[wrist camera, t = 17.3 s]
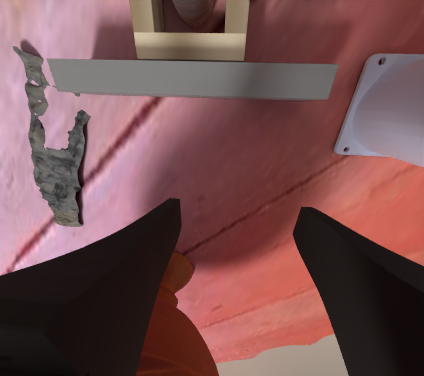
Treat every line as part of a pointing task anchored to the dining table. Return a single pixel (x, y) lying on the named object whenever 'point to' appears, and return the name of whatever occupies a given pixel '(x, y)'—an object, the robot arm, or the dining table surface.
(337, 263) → the robot arm
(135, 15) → the socket block
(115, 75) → the backstop wall
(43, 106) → the driftwood
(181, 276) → the goblet
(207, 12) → the dowel
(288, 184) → the dining table surface
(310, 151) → the dining table surface
